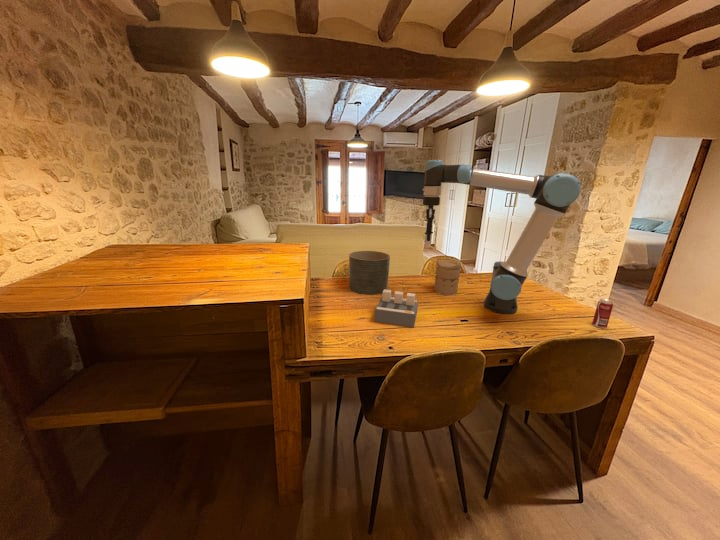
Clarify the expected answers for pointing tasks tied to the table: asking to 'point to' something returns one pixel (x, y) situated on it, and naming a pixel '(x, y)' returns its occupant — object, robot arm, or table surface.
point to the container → (447, 277)
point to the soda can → (602, 313)
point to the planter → (368, 272)
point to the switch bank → (396, 313)
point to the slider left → (386, 295)
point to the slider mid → (398, 297)
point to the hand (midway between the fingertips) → (427, 247)
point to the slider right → (410, 299)
